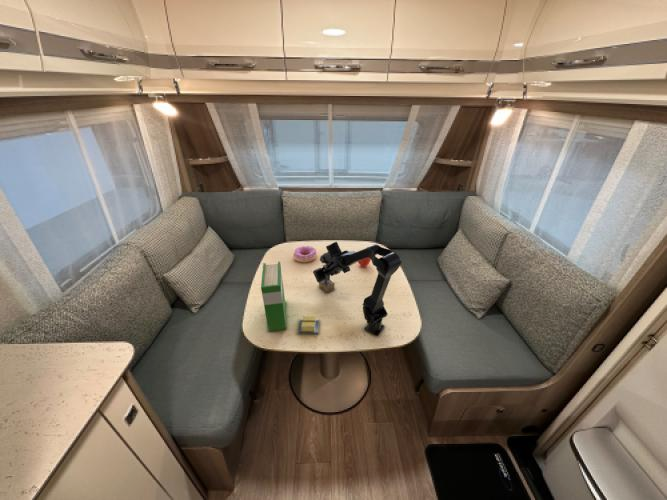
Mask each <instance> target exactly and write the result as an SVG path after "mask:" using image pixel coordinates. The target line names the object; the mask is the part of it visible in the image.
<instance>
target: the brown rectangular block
mask: <svg viewBox="0 0 667 500" xmlns="http://www.w3.org/2000/svg"><path fill="white" fill-rule="evenodd" d="M328 281H329V284H328V283H326V282H325V280H324V281H321V282H318V287H319V288H320V289H321V290H323V291H324V292H325V293H326V294H328V293H330V292H332V291H334V290H335V282H334V281H332V280H331V279H330V280H328Z"/></svg>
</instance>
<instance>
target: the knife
mask: <svg viewBox="0 0 667 500" xmlns="http://www.w3.org/2000/svg"><path fill="white" fill-rule="evenodd" d="M325 265H326V264H325V263H324V264H323V265H322V268H323V267H325V268H326V266H325ZM329 277H330V278H328V279H326V280H325V282H326V283H328V284H329V281H328V280H331V275H330V276H329Z"/></svg>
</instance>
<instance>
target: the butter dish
mask: <svg viewBox="0 0 667 500" xmlns="http://www.w3.org/2000/svg"><path fill="white" fill-rule="evenodd" d="M319 326H320V320H319V319H317V318H316V315H303V316H302V319H300V321H299V325H298V332H297V333H298V334H299V335H300V334H301V335H305V334H306V335H307V334H308V335H309V334H310V335H318V334H319V328H320V327H319Z"/></svg>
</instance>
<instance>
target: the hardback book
mask: <svg viewBox="0 0 667 500" xmlns="http://www.w3.org/2000/svg"><path fill="white" fill-rule="evenodd" d="M260 290H261V295H262V302H263V307H264V312H265V317H266V324H267V329H268V332H274V331H280V330H287V319H286V318H287V317H286V316H287V315H286V314H287V313H286V311H287V310H286V297H285V289H284V281H283V273H282V265H281V261H277V263H273V264H266V262H263V263H262V272H261V284H260Z"/></svg>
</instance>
